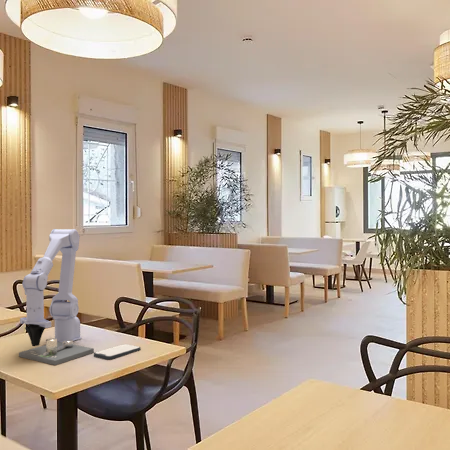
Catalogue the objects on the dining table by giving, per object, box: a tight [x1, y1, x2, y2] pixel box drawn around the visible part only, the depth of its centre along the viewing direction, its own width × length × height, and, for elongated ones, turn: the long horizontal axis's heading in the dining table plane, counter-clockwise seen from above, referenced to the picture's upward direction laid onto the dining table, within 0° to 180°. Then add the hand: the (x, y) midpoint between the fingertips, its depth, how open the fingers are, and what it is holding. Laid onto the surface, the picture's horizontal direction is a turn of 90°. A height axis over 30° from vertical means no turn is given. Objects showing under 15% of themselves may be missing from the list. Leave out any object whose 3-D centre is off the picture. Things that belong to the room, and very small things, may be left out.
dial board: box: [18, 342, 95, 366], centre depth 174 cm, size 17×19×2 cm
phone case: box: [93, 343, 141, 361], centre depth 176 cm, size 9×2×16 cm
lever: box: [43, 337, 74, 356], centre depth 173 cm, size 15×4×5 cm, turn 161°
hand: (35, 345), depth 174 cm, fingers closed
